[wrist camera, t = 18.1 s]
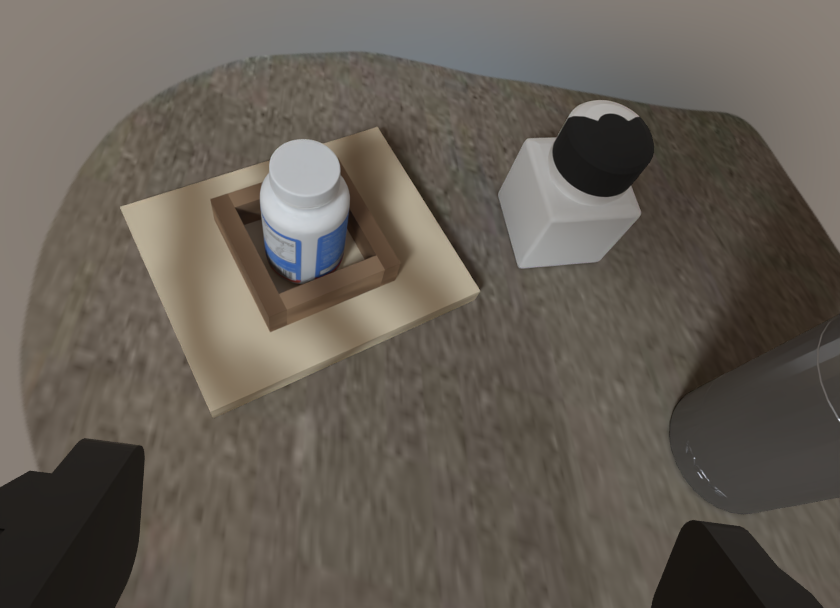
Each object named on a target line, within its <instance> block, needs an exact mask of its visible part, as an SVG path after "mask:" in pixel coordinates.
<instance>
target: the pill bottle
mask: <svg viewBox="0 0 840 608" xmlns="http://www.w3.org/2000/svg"><path fill="white" fill-rule="evenodd" d="M340 172H341V170H340V163H339V160H338V158H337V157H336V155H335V154H334V152H333V151H332V150H331V149H329V148H328V147H327V146H325V145H324V144H322V143H320V142H317V141H313V140H308V139H299V140H293V141H289V142H287V143H285V144H283V145H281V146H280V147H279V148H277V149H276V150H275V152H274V153H273V155H272V157H271V159H270V163H269V173H268V174H267V176H266V177H265V179H264V181H263V183H262V186H261V190H260V208H261V217H262V225H263V234H264V244H265V253H266V257H267V260H268V263H269V265H270V266H271V268H272V269H273V270H274V272H275V273H276V274H278V275H279V276H280V277H282V278H283V279H285V280H287V281H289V282H292V283H296V284H305V283H308V282H310V281H313V280H315V279H318V278H320V277H323V276H325V275H328V274H330V273H333V272H336V271H337V269H338V268H339V266H340V264H341V262H342V259H343V255H344V248H345V240H346V232H347V224H348V215H349V207H350V194H349V190H348V186H347V184H346V182H345V180H344V179H343V177H342V176H341V175H340Z"/></svg>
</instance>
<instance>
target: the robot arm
mask: <svg viewBox="0 0 840 608" xmlns="http://www.w3.org/2000/svg"><path fill="white" fill-rule="evenodd" d="M670 443H671V449H672V453H673V456H674V458H675V461H676V464H677V466H678V468H679V470H680V471H681V473H682V475H683V477H684V478H685V480H686V481H687V482H688V483H689V485H690V486H691V487H692V488H693V490H694V491H696V492H697V493H698V494H699V495H700V496H701V497H702V498H703V499H705V500H706V501H708V502H709V503H711V504H712V505H714V506H716V507H717V508H720V509H723V510H725V511H728V512H731V513H738V514H752V513H759V512H764V511H769V510H774V509H780V508H785V507H791V506H797V505H802V504H808V503H813V502H818V501H823V500H829V499H834V498H839V497H840V314H839V315H837V316H835V317H833V318H831V319H829V320H827V321H825V322H824V323H822V324H820V325H818V326H816V327H814V328H812V329H810V330H808V331H806V332H804V333H802V334H801V335H799V336H797V337H795V338H793V339H791V340H789V341H787V342H785V343H783V344H781V345H780V346H778V347H776V348H774V349H772V350H770V351H768V352H766V353H764V354H762V355H760V356H758V357H757V358H755V359H753V360H751V361H749V362H747V363H745V364H743V365H741V366H739V367H737V368H735V369H734V370H732V371H730V372H727V373H725V374H723V375H721V376H720V377H718V378H716V379H714V380H712V381H710V382H708V383H706V384H704V385H703V386H701V387H699V388H697V389H695V390H693V391H692V392H690V393H688V394H686V395H685V396H684V397H683V398H682V399H681V400H680V402H679V403H678V404H677V406H676V408H675V410H674V412H673V415H672V419H671V422H670ZM144 460H145V456H144V449H143V447H142V446H140V445H133V444H125V443H117V442H110V441H102V440H95V439H87V438H84V439H82V440H80V441H79V442H78V443H77V444H76V445H75V446H74V448H73V449H72V450H71V451H70V452H69V454H68V455H67V456H66V457H65V458H64V460H63V461H62V462H61V463H60V464H59V466H58V467H57V468H56V469H55V470H54V471H53V473H44V472H36V471H28V472H27V473H25V474H23V475H21V476H20V477H18V478H16V479H14V480H12V481H11V482H9V483H7V484H5V485H3V486H2V487H0V608H115V606H116V604H117V602H118V600H119V598H120V596H121V594H122V592H123V590H124V588H125V586H126V584H127V582H128V579H129V577H130V574H131V571H132V568H133V565H134V561H135V557H136V553H137V548H138V542H139V533H140V519H141V505H142V490H143V476H144ZM651 608H823V607H822V605H821V604H820V603H819V602H818V601H817V600H816V598H815V597H814V596H813V595H812V594H811V593H810V592H809V591H808V590H806V589H805V588H804V587H803V586H801V585H800V584H799V583H798V582H796V581H795V580H794V579H792V578H791V577H790V576H789V575H787V574H786V573H785V572H784V571H782V570H781V569H780V568H779V567H778V566H777V565H776V564H775V563H774V561H773V560H772V559H771V558H770V557H769V555H768V554H767V553H766V552H765V551H764V549H763V548H762V547H761V546H760V545H759V543H758V542H757V541H756V540H755V539H754V537H753V536H752V535H751V534H750V533H749V532H748V531H747V530H746V529H744V528H743V527H740V526H734V525H726V524H719V523H711V522H704V521H696V520H692V521H689V522H687V523H686V524H685V525H684V526H683V527H682V528H681V530H680V532H679V535H678V537H677V540H676V542H675V545H674V547H673V550H672V552H671V555H670V557H669V560H668V562H667V565H666V567H665V570H664V572H663V575H662V577H661V580H660V582H659V584H658V587H657V589H656V592H655V594H654V597H653V601H652V606H651Z"/></svg>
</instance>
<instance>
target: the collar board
mask: <svg viewBox="0 0 840 608" xmlns="http://www.w3.org/2000/svg"><path fill="white" fill-rule="evenodd" d="M324 145H325V146H327V147H328V148H329V149H331V150H332V151H333V152H334V154H335V155H336V157H337V158H338V160H339V163H340V170H341V172H340V175H341V176H342V177H343V179H344V180H345V182H346V184H347V186H348V190H349V194H350V207H349V215H348V224H347V232H346V240H345V248H344V255H343V259H342V262H341V264H340V266H339V268H338V269H337V271H336V272H333V273H330V274H328V275H325V276H323V277H320V278H318V279H315V280H313V281H310V282H308V283H305V284H296V283H292V282H289V281H287V280H285V279H283V278H282V277H280V276H279V275H278V274H276V273H275V272H274V270H273V269H272V268H271V266H270V265H269V263H268V260H267V257H266V253H265V244H264V234H263V225H262V217H261V208H260V190H261V186H262V183H263V181H264V179H265V177H266V176H267V174H268V173H269V163H270V160H269V161H266V162H263V163H260V164H257V165H253V166H250V167H247V168H244V169H241V170H237V171H234V172H231V173H228V174H225V175H221V176H218V177H215V178H212V179H208V180H205V181H202V182H199V183H196V184H192V185H189V186H186V187H183V188H180V189H176V190H173V191H170V192H167V193H163V194H160V195H157V196H154V197H151V198H147V199H144V200H141V201H138V202H135V203H131V204H128V205H125V206H122V207H120V208H121V211H122V213H123V215H124V218H125V220H126V222H127V224H128V227H129V229H130V231H131V234H132V236H133V238H134V240H135V243H136V245H137V247H138V249H139V252H140V254H141V256H142V258H143V261H144V263H145V265H146V268H147V270H148V272H149V274H150V277H151V279H152V281H153V283H154V286H155V288H156V290H157V292H158V295H159V297H160V299H161V302H162V304H163V306H164V308H165V311H166V313H167V315H168V317H169V320H170V322H171V324H172V327H173V329H174V331H175V333H176V336H177V338H178V340H179V342H180V345H181V347H182V349H183V351H184V354H185V356H186V358H187V361H188V363H189V365H190V367H191V370H192V372H193V374H194V376H195V379H196V381H197V383H198V385H199V388H200V390H201V392H202V395H203V397H204V399H205V401H206V404H207V406H208V408H209V410H210V413H211V415H212V417H213V418H215V417H218V416H220V415H222V414H224V413H226V412H229V411H231V410H233V409H235V408H237V407H240V406H242V405H244V404H246V403H248V402H251V401H253V400H255V399H257V398H259V397H262V396H264V395H266V394H268V393H271V392H273V391H275V390H277V389H279V388H282V387H284V386H286V385H288V384H290V383H293V382H295V381H297V380H299V379H301V378H304V377H306V376H308V375H310V374H312V373H315V372H317V371H319V370H321V369H323V368H326V367H328V366H330V365H332V364H335V363H337V362H339V361H341V360H343V359H346V358H348V357H350V356H352V355H354V354H357V353H359V352H361V351H363V350H365V349H368V348H370V347H372V346H374V345H376V344H379V343H381V342H383V341H385V340H387V339H390V338H392V337H394V336H396V335H399V334H401V333H403V332H405V331H407V330H410V329H412V328H414V327H416V326H418V325H421V324H423V323H425V322H427V321H429V320H432V319H434V318H436V317H438V316H440V315H443V314H445V313H447V312H449V311H451V310H454V309H456V308H458V307H460V306H463V305H465V304H467V303H469V302H471V301H474V300H475V299H476V297H477V296H478V294H479V292H480V290H479V288H478V287H477V285H476V283H475V282H474V280H473V279H472V277H471V275H470V274H469V272H468V271H467V269H466V267H465V266H464V264H463V263H462V261H461V259H460V258H459V256H458V255H457V253H456V251H455V250H454V248H453V247H452V245H451V243H450V242H449V240H448V239H447V237H446V235H445V234H444V232H443V231H442V229H441V227H440V226H439V224H438V223H437V221H436V219H435V218H434V216H433V215H432V213H431V212H430V210H429V208H428V207H427V205H426V204H425V202H424V200H423V199H422V197H421V196H420V194H419V192H418V191H417V189H416V188H415V186H414V184H413V183H412V181H411V180H410V178H409V176H408V175H407V173H406V172H405V170H404V168H403V167H402V165H401V164H400V162H399V160H398V159H397V157H396V156H395V154H394V152H393V151H392V149H391V148H390V146H389V144H388V143H387V141H386V140H385V138H384V137H383V135H382V133H381V132H380V130H379V129H378V127H376V128H372V129H369V130H366V131H363V132H359V133H356V134H353V135H350V136H347V137H343V138H340V139H337V140H334V141H331V142H327V143H324Z"/></svg>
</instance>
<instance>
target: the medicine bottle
mask: <svg viewBox="0 0 840 608" xmlns="http://www.w3.org/2000/svg"><path fill="white" fill-rule="evenodd" d="M653 153H654V143H653V139H652V135H651V133H650V130H649V128H648V127H647V125H646V124H645V122H644V121H643V120H642V119H641V118H640V117H639V116H638V115H637V114H636V113H635V112H633V111H632V110H631V109H629V108H627V107H625V106H623V105H621V104H619V103H616V102H612V101H607V100H595V101H589V102H585V103H583V104H580V105H579V106H577V107H576V108H575V109H574V110H573V111H572V112H571V113H570V115H569V117H568V118H567V120H566V122H565V124H564V125H563V127H562V129H561V131H560V132H559V134H558V136H557V137H552V138H528V139H526V140H525V142H524V144H523V146H522V148H521V149H520V151H519V153H518V155H517V157H516V159H515V161H514V163H513V165H512V167H511V169H510V171H509V173H508V175H507V177H506V179H505V181H504V183H503V185H502V187H501V189H500V191H499V193H498V197H499V201H500V204H501V208H502V212H503V215H504V219H505V222H506V226H507V229H508V233H509V237H510V240H511V244H512V247H513V251H514V254H515V258H516V261H517V265H518V267H520V268H533V267H545V266H557V265H569V264H581V263H593V262H598V261H600V260H601V259H602V258H603V257H604V255H605V254H606V253H607V252H608V251H609V250H610V249H611V248H612V247H613V246H614V244H615V243H616V242H617V241H618V240H619V239H620V238H621V237H622V236H623V235H624V233H625V232H626V231H627V230H628V229H629V228H630V227H631V226H632V225H633V224H634V222H635V221H636V220H637V219H638V218H639V217H640V215H641V210H640V207H639V205H638V202H637V200H636V197H635V194H634V192H633V189H632V187H631V185H632V184H633V182H634V181H635V180H636V179H637V178H638V176H639V175H640V174H641V173H642V171H643V170H644V169H645V168H646V167H647V165H648V164H649V163H650V161H651V159H652V157H653Z"/></svg>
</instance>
